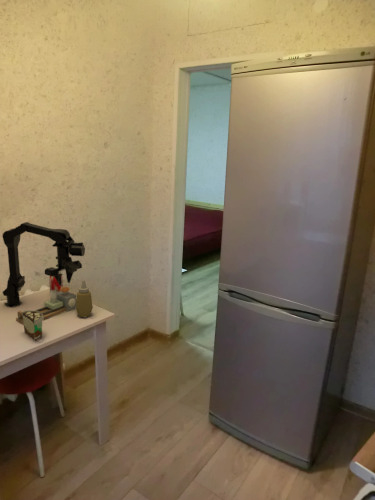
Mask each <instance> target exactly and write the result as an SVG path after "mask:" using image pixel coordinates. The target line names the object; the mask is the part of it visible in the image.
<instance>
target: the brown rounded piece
mask: <svg viewBox="0 0 375 500" xmlns="http://www.w3.org/2000/svg"><path fill="white" fill-rule="evenodd" d="M60 291H61V292H63V295H67V292H69V291H70V287H69V286H63V287H61V288H60Z"/></svg>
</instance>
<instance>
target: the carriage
mask: <svg viewBox="0 0 375 500" xmlns="http://www.w3.org/2000/svg"><path fill="white" fill-rule="evenodd" d="M49 297H50V300H47V301H43V305H44V306H43V307H48V308H50V309H53V310H54V309H56V308H59V307H62V306H63V302H62V301H59V300H57V295H56V290H51V291H50V290H49Z"/></svg>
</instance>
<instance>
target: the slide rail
mask: <svg viewBox="0 0 375 500" xmlns="http://www.w3.org/2000/svg"><path fill="white" fill-rule="evenodd" d="M34 311H39V312H41V313H42V314H43V317H44V320H43V321H45V320H48V319H50V318H52V317H55V316H58V315H60V314H62V313H65V312H67V311H66V308H64V305H63V306H62V307H59V308H56V309H54V310H53V309H50V308H48V307H45V306H43V307H40V308H37V309H35V310H34ZM22 312H23V311H21V310H18V311H17V317H16V318H15V322H17V323H20V324H22V325H23V326H24V323H23V316H22Z"/></svg>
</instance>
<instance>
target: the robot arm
mask: <svg viewBox="0 0 375 500" xmlns="http://www.w3.org/2000/svg"><path fill="white" fill-rule="evenodd" d="M24 233H30V234H34V235H39V236H41V237H46V238H49V239H50V240H52V241H54V244H52V247H55V248H56V255H57V256H55V259H56V260H57V264H55V267H56V268H55V267H53V266H52V267H47V268H45V269H44V275H46V276H49V277H50V276H54V277H55V279H56V280H57V282H58V284H59V285H60V286H61V284H62V282H61V276H62V277H63V275H64V274H63V273H61V272H62V271H65V276H66V281H67V283H68V284H70V283H71V280H72V278H73V275H74V273H75V272H76V273H77V271H78V270H79V269H82V268H83V264H82V263H81V261H80V260H74V261H73V260H72V257H71V256H73V257H84V256H85V253H86V247H85V245H84V242H75V240H74V238H73V237H72V236H71V233H70V232H69V231H68V230H67V229H62V228H50V227H46V226H42V225H38V224H34V223H30V222H29V221H28V222H23V223H20V224H19V225H18V226H17V227H15V228H14V227H13V228H10V229H7V230H5V231H4V232H3V233H2V236H1V237H2V240H3V244H4V245H5V246H6V249H7V258H8V270H9V271H8V272H9V276H8V279H7V282H6V283H7V284H6V288H5V289H4V290H3V291H2V294H3V296H5V297H6V302H4V303H3V304H4V306H7V307H9V308H14V307H16V306H20V305H22V304H23V302H22V301H21V299H20V291H21V290H22V288H23V287H24V286H25V284H26V281H25V280H26V279H25V277H26V276H25V275H22V274H21V270H20V258H19V257H20V256H19V255H20V254H19V245H20V241H21V235H23V234H24ZM70 255H71V256H70Z"/></svg>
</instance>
